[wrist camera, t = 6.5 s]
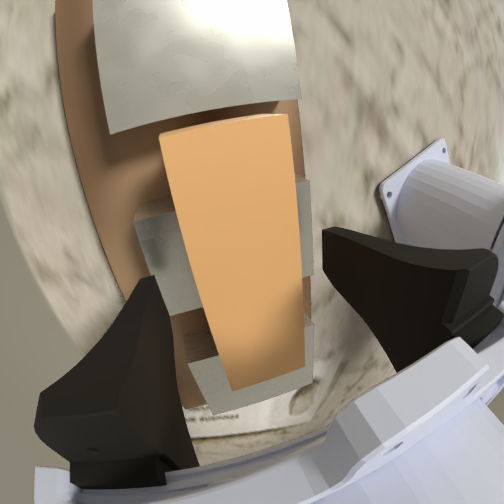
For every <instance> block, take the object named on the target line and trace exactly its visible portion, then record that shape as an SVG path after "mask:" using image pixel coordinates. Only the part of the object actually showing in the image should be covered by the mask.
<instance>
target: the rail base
mask: <svg viewBox="0 0 504 504" xmlns="http://www.w3.org/2000/svg"><path fill="white" fill-rule="evenodd" d="M55 23H56V43H57V56H58V66H59V75H60V83H61V90H62V96H63V103H64V108H65V114H66V119H67V124H68V129H69V134H70V139H71V143H72V147H73V152H74V156H75V160H76V164H77V167H78V171H79V175H80V178H81V182H82V185H83V189H84V192H85V195H86V199H87V202H88V205H89V208H90V211H91V214H92V217H93V220H94V223H95V226H96V229H97V232H98V235H99V237H100V240H101V243H102V245H103V248H104V251H105V253H106V256H107V258H108V261H109V263H110V266H111V268H112V271H113V273H114V275H115V278H116V280H117V283H118V285H119V287H120V289H121V292H122V294H123V296H124V298H125V301H126V302H127V300H128V298H129V297H130V295H131V293H132V291H133V290H134V288H135V286H136V284H137V283H138V281H139V280H140V278H144V277H148V276H151V274H150V271H149V268H148V266H147V263H146V260H145V257H144V254H143V251H142V248H141V245H140V242H139V239H138V236H137V233H136V230H135V227H134V224H133V221H134V217H135V212H136V208H137V205H139V204H142V203H146V202H149V201H153V200H157V199H160V198H164V197H168V196H172V194H171V190H170V186H169V181H168V177H167V173H166V169H165V164H164V160H163V155H162V151H161V146H160V141H159V135H160V134H161V133H165V132H169V131H173V130H177V129H181V128H186V127H190V126H195V125H199V124H204V123H209V122H214V121H220V120H225V119H231V118H237V117H243V116H250V115H257V114H288V120H289V128H290V136H291V145H292V154H293V164H294V173H295V174H297V175H299V176H301V177H303V178H305V169H304V157H303V146H302V136H301V126H300V117H299V108H298V99H292V100H280V101H270V102H260V103H252V104H244V105H237V106H231V107H224V108H218V109H212V110H207V111H201V112H196V113H191V114H187V115H182V116H177V117H173V118H169V119H164V120H160V121H156V122H152V123H149V124H145V125H141V126H137V127H134V128H130V129H127V130H124V131H120V132H117V133H114V134H111V135H110V132H109V127H108V122H107V117H106V112H105V106H104V101H103V95H102V89H101V83H100V76H99V69H98V61H97V53H96V44H95V33H94V20H93V2H92V0H56V1H55ZM302 283H303V305H304V311H305V313H306V314H307V316H308V317H309V318H310V320H311V287H310V276H307V277H303V278H302ZM170 321H171V326H172V331H173V340H174V355H175V368H176V379H177V386H178V392H179V396H180V401H181V404H182V405H183V407H184V408H185V409H189V408H193V407H197V406H201V405H205V404H207V402H206V400H205V398H204V396H203V394H202V392H201V390H200V388H199V386H198V384H197V382H196V380H195V378H194V376H193V374H192V372H191V370H190V368H189V366H188V363H187V358H186V352H185V347H184V341H183V336H184V335H187V334H191V333H195V332H199V331H202V330H206V329H210V327H209V324H208V320H207V317H206V314H205V311H204V308H203V307H201V308H198V309H194V310H190V311H187V312H183V313H179V314H175V315H172V316H170Z"/></svg>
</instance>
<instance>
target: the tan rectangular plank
mask: <svg viewBox="0 0 504 504" xmlns="http://www.w3.org/2000/svg"><path fill="white" fill-rule="evenodd" d="M159 141H160V146H161V151H162V155H163V160H164V164H165V169H166V173H167V177H168V181H169V186H170V190H171V194H172V198H173V202H174V206H175V210H176V214H177V218H178V221H179V225H180V229H181V233H182V236H183V240H184V244H185V247H186V251H187V255H188V258H189V262H190V265H191V268H192V272H193V275H194V279H195V282H196V285H197V289H198V292H199V295H200V298H201V302H202V305H203V308H204V311H205V314H206V317H207V320H208V324H209V327H210V330H211V333H212V336H213V339H214V342H215V345H216V348H217V350H218V353H219V356H220V359H221V362H222V365H223V368H224V370H225V373H226V376H227V379H228V381H229V384H230V387H231V390H232V391H235V390H239V389H242V388H245V387H248V386H252V385H255V384H258V383H261V382H264V381H267V380H270V379H273V378H276V377H279V376H281V375H284V374H287V373H290V372H292V371H295V370H298V369H300V368H303V367H305V335H304V305H303V283H302V264H301V248H300V233H299V220H298V207H297V196H296V185H295V174H294V164H293V154H292V145H291V136H290V128H289V120H288V114H257V115H250V116H243V117H237V118H231V119H225V120H220V121H214V122H209V123H204V124H199V125H195V126H190V127H186V128H181V129H177V130H173V131H169V132H165V133H161V134H160V135H159Z"/></svg>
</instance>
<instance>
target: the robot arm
mask: <svg viewBox="0 0 504 504" xmlns="http://www.w3.org/2000/svg"><path fill="white" fill-rule="evenodd" d="M379 192H380V195H381V198H382V201H383V204H384V207H385V210H386V213H387V216H388V220H389V223H390V226H391V230H392V233H393V237H394V240H395V242H392V241H388V240H384V239H380V238H376V237H373V236H369V235H366V234H362V233H359V232H355V231H352V230H348V229H344V228H339V227H331V228H327V229H324V230H322V259H323V271H324V273H325V274H326V276H327V277H328V279H329V280H330V282H331V283H332V285H333V286H334V287H335V288H336V290H337V291H338V292H339V293H340V294H341V295H342V296H343V297H344V299H345V300H346V301H347V302H348V303H349V304H350V305H351V306H352V307H353V308H354V310H355V311H356V312H357V313H358V314H359V315H360V316H361V317H362V319H363V320H364V321H365V322H366V323H367V325H368V326H369V328H370V329H371V331H372V332H373V333H374V335H375V336H376V338H377V339H378V341H379V343H380V344H381V346H382V347H383V349H384V351H385V352H386V354H387V356H388V358H389V359H390V361H391V363H392V365H393V367H394V369H395V370H396V372H397V373H396V374H394V375H392V376H391V377H389V378H387V379H385V380H383V381H382V382H380V383H378V384H376V385H374V386H372V387H371V388H369V389H368V390H366V391H365V392H363V393H362V394H360V395H358V396H357V397H355V398H354V399H352V400H351V401H350V402H349V403H348V404H347V405H346V406H344V407H343V408H342V409H341V410H340V411H339V412H338V413H337V414H336V415H335V417H334V418H333V420H332V422H331V423H330V425H328V426H326V427H323V428H321V429H319V430H316V431H314V432H311V433H309V434H306V435H304V436H301V437H299V438H296V439H293V440H291V441H288V442H285V443H282V444H280V445H277V446H274V447H271V448H268V449H265V450H261V451H258V452H255V453H252V454H248V455H245V456H241V457H237V458H234V459H230V460H226V461H222V462H218V463H213V464H209V465H204V466H199V463H198V460H197V457H196V454H195V451H194V448H193V445H192V442H191V438H190V435H189V432H188V428H187V425H186V421H185V417H184V413H183V409H182V405H181V401H180V396H179V392H178V386H177V379H176V368H175V355H174V340H173V331H172V326H171V321H170V315H169V312H168V310H167V307H166V305H165V302H164V299H163V297H162V294H161V291H160V289H159V286H158V283H157V281H156V278H155V275H151V276H148V277H144V278H140V280H139V281H138V283H137V284H136V286H135V288H134V290H133V291H132V293H131V295H130V297H129V298H128V300H127V302H126V303H125V305H124V307H123V308H122V310H121V311H120V313H119V314H118V316H117V317H116V319H115V320H114V322H113V324H112V325H111V326H110V328H109V329H108V330H107V332H106V333H105V334H104V336H103V337H102V338H101V339H100V341H99V342H98V343H97V344H96V345H95V346H94V347H93V348H92V349H91V350H90V352H89V353H88V354H87V355H86V356H85V357H84V358H83V359H82V360H81V361H80V362H79V363H78V364H77V365H76V366H75V367H73V368H72V369H71V370H70V371H69V372H68V373H66V374H65V375H64V376H63V377H62V378H60V379H59V380H58V381H56V382H55V383H54V384H52V385H51V386H49V387H48V388H47V389H45V390H44V391H42V392H41V393H40V396H39V401H38V406H37V412H36V418H35V423H34V429H35V432H36V434H37V435H38V437H39V438H40V439H41V440H42V441H43V442H44V443H45V444H46V445H47V446H49V447H50V448H51V449H52V450H54V451H55V452H57V453H58V454H59V455H61V456H62V457H64V458H65V459H66V460H68V461H69V462H70V470H67V469H64V468H59V467H44V466H36V467H35V487H34V488H35V489H34V502H35V503H34V504H504V426H503V424H502V423H501V422H500V421H499V420H498V418H497V417H496V416H495V415H494V414H493V413H492V411H491V410H490V409H489V408H488V407H487V405H488V404H489V403H490V402H491V401H492V400H493V398H494V397H495V396H496V395H497V394H498V393H499V392H500V391H501V389H502V388H503V387H504V185H503V184H500V183H498V182H496V181H493V180H491V179H489V178H486V177H484V176H481V175H479V174H476V173H473V172H471V171H468V170H465V169H463V168H460V167H457V166H454V165H451V164H450V161H449V156H448V151H447V146H446V142H445V140H444V139H441V138H439V139H437V140H436V141H435V142H434V143H432V144H431V145H430V146H428V147H427V148H426V149H425V150H423V151H422V152H421V153H419V154H418V155H417V156H416V157H414V158H413V159H412V160H410V161H409V162H408V163H407V164H405V165H404V166H403V167H401V168H400V169H399V170H397V171H396V172H395V173H394V174H392V175H391V176H390V177H388V178H387V179H386V180H384V181H383V182H382V183H381V184H380V187H379ZM387 193H388V196H387Z"/></svg>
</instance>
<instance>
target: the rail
mask: <svg viewBox="0 0 504 504" xmlns="http://www.w3.org/2000/svg"><path fill="white" fill-rule="evenodd" d="M92 2H93V20H94V33H95V44H96V53H97V61H98V69H99V76H100V83H101V89H102V95H103V101H104V106H105V112H106V117H107V122H108V127H109V132H110V135H111V134H114V133H117V132H120V131H124V130H127V129H130V128H134V127H137V126H141V125H145V124H149V123H152V122H156V121H160V120H164V119H169V118H173V117H177V116H182V115H187V114H191V113H196V112H201V111H207V110H212V109H218V108H224V107H231V106H237V105H244V104H252V103H260V102H270V101H280V100H292V99H302V97H301V89H300V81H299V73H298V66H297V59H296V52H295V46H294V39H293V33H292V27H291V22H290V16H289V10H288V5H287V0H92ZM294 174H295V173H294ZM295 185H296V196H297V207H298V220H299V233H300V248H301V264H302V278H303V277H307V276H310V275H313V274H314V269H313V237H312V215H311V197H310V182H309V180H307V179H305V178H303V177H301V176H299V175H297V174H295ZM133 224H134V227H135V230H136V233H137V236H138V239H139V242H140V245H141V248H142V251H143V254H144V257H145V260H146V263H147V266H148V268H149V271H150V274H151V275H155V278H156V281H157V283H158V286H159V289H160V291H161V294H162V297H163V299H164V302H165V305H166V307H167V310H168V312H169V315H170V316H172V315H175V314H179V313H183V312H187V311H190V310H194V309H198V308H201V307H203V305H202V302H201V298H200V295H199V292H198V289H197V285H196V282H195V279H194V275H193V272H192V268H191V265H190V262H189V258H188V255H187V251H186V247H185V244H184V240H183V236H182V233H181V229H180V225H179V221H178V218H177V214H176V210H175V206H174V202H173V198H172V196H168V197H164V198H160V199H157V200H153V201H149V202H146V203H142V204H139V205H137V208H136V212H135V217H134V221H133ZM304 335H305V367H303V368H300V369H298V370H295V371H292V372H290V373H287V374H284V375H281V376H279V377H276V378H273V379H270V380H267V381H264V382H261V383H258V384H255V385H252V386H248V387H245V388H242V389H239V390H235V391H232V390H231V387H230V384H229V381H228V379H227V376H226V373H225V370H224V368H223V365H222V362H221V359H220V356H219V353H218V350H217V348H216V345H215V342H214V339H213V336H212V333H211V330H210V329H206V330H202V331H199V332H195V333H191V334H187V335H184V336H183V341H184V347H185V352H186V358H187V363H188V366H189V368H190V370H191V372H192V374H193V376H194V378H195V380H196V382H197V384H198V386H199V388H200V390H201V392H202V394H203V396H204V398H205V400H206V402H207V404H208V406H209V408H210V410H211V412H212V414H213V415H216V414H220V413H224V412H228V411H231V410H235V409H238V408H242V407H245V406H248V405H251V404H255V403H258V402H261V401H264V400H267V399H270V398H273V397H276V396H279V395H281V394H284V393H287V392H290V391H292V390H295V389H298V388H300V387H303V386H306V385H308V384H311V383H312V382H313V350H314V324H313V323H312V321H311V320H310V318H309V317H308V316H307V314H306V313H305V311H304Z"/></svg>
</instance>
